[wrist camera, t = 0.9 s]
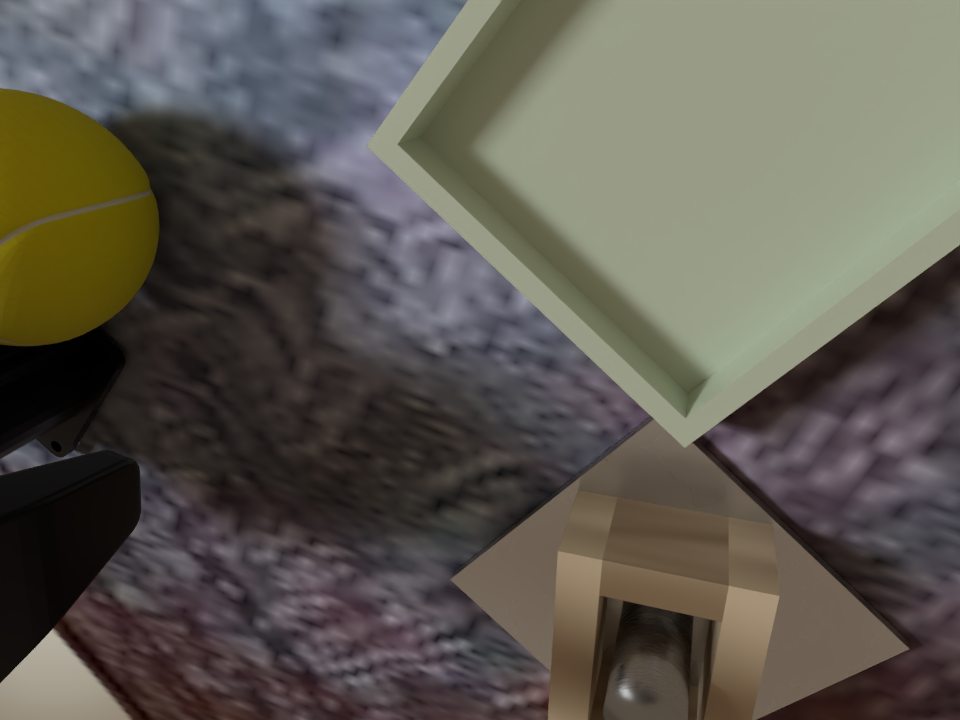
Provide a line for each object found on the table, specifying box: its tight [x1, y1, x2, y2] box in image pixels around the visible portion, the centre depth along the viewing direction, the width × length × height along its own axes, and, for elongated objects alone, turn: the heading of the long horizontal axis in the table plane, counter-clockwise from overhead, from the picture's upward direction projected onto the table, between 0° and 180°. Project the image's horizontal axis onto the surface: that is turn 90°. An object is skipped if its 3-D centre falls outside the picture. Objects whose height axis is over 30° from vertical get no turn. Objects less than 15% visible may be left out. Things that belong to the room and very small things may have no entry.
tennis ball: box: [0, 88, 159, 346], centre depth 20 cm, size 7×7×7 cm
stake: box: [450, 416, 909, 720], centre depth 21 cm, size 10×10×5 cm
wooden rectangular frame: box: [548, 490, 780, 720], centre depth 22 cm, size 10×6×3 cm, turn 0°
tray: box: [367, 0, 960, 448], centre depth 16 cm, size 13×11×2 cm
